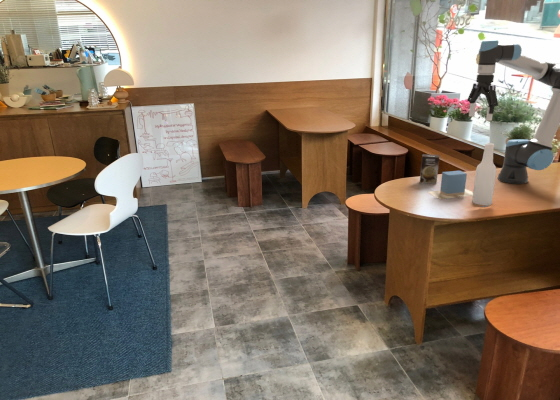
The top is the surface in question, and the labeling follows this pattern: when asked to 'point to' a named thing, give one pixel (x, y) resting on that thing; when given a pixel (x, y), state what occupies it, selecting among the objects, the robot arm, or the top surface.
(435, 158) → the coffee box
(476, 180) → the alcohol
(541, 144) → the robot arm
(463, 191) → the block
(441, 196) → the board
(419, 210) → the top surface
